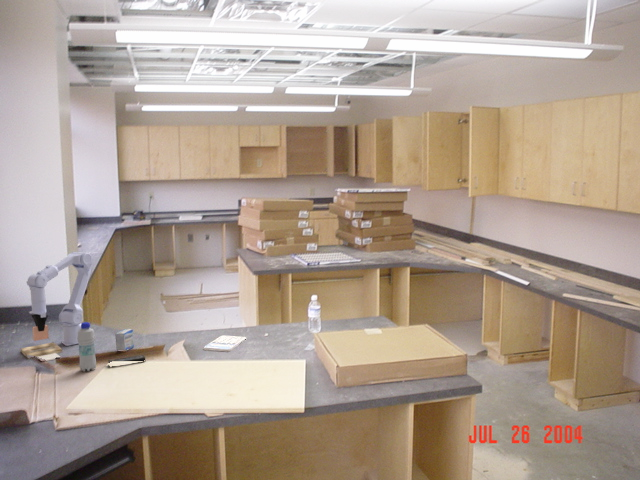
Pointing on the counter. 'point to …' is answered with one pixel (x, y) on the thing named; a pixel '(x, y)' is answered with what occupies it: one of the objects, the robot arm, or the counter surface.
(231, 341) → the white book
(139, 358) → the multiport hub
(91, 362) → the bottle
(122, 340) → the medicine box
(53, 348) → the gold flat square frame
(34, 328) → the peach cuboid
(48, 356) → the pad
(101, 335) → the counter surface
